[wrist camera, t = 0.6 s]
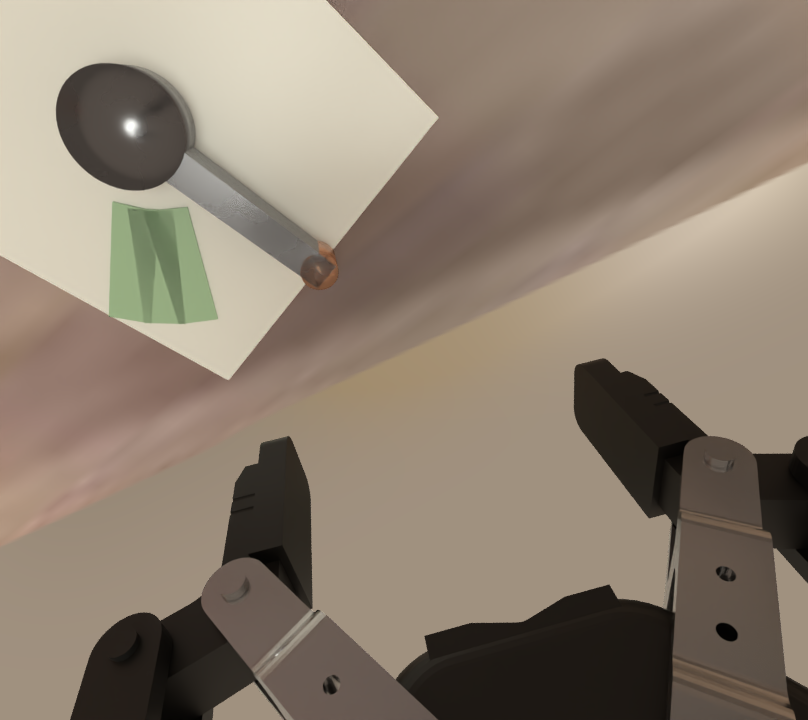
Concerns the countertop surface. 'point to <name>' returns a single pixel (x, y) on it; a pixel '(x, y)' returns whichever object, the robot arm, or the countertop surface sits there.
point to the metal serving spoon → (172, 159)
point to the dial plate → (215, 138)
